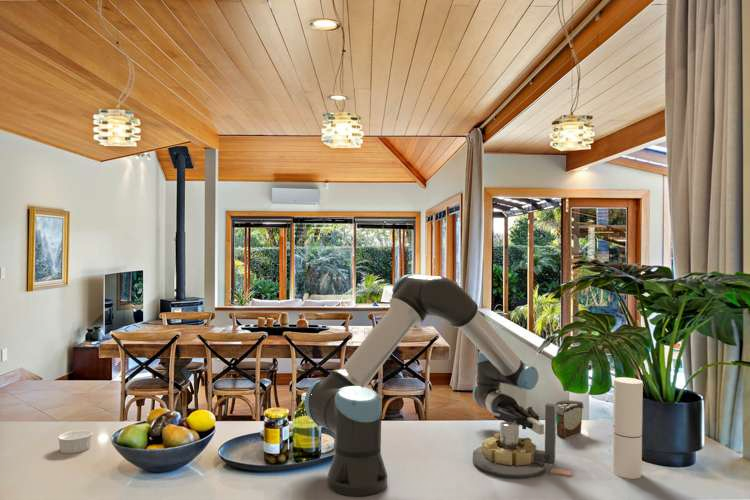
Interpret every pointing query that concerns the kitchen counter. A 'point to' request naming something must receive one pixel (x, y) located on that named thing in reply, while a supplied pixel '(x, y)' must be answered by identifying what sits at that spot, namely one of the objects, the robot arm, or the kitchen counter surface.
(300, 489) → the kitchen counter surface
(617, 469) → the cylindrical container
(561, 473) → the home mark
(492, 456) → the geared hub with post
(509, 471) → the flange
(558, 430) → the food container
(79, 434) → the ramekin
